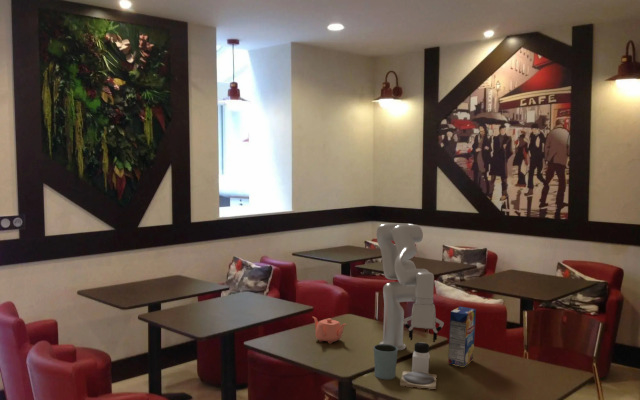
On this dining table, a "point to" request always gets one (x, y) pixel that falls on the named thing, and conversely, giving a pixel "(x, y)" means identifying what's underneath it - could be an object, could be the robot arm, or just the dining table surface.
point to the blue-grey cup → (385, 361)
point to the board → (418, 380)
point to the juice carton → (461, 336)
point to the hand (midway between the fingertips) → (422, 340)
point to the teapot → (328, 330)
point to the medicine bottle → (421, 358)
